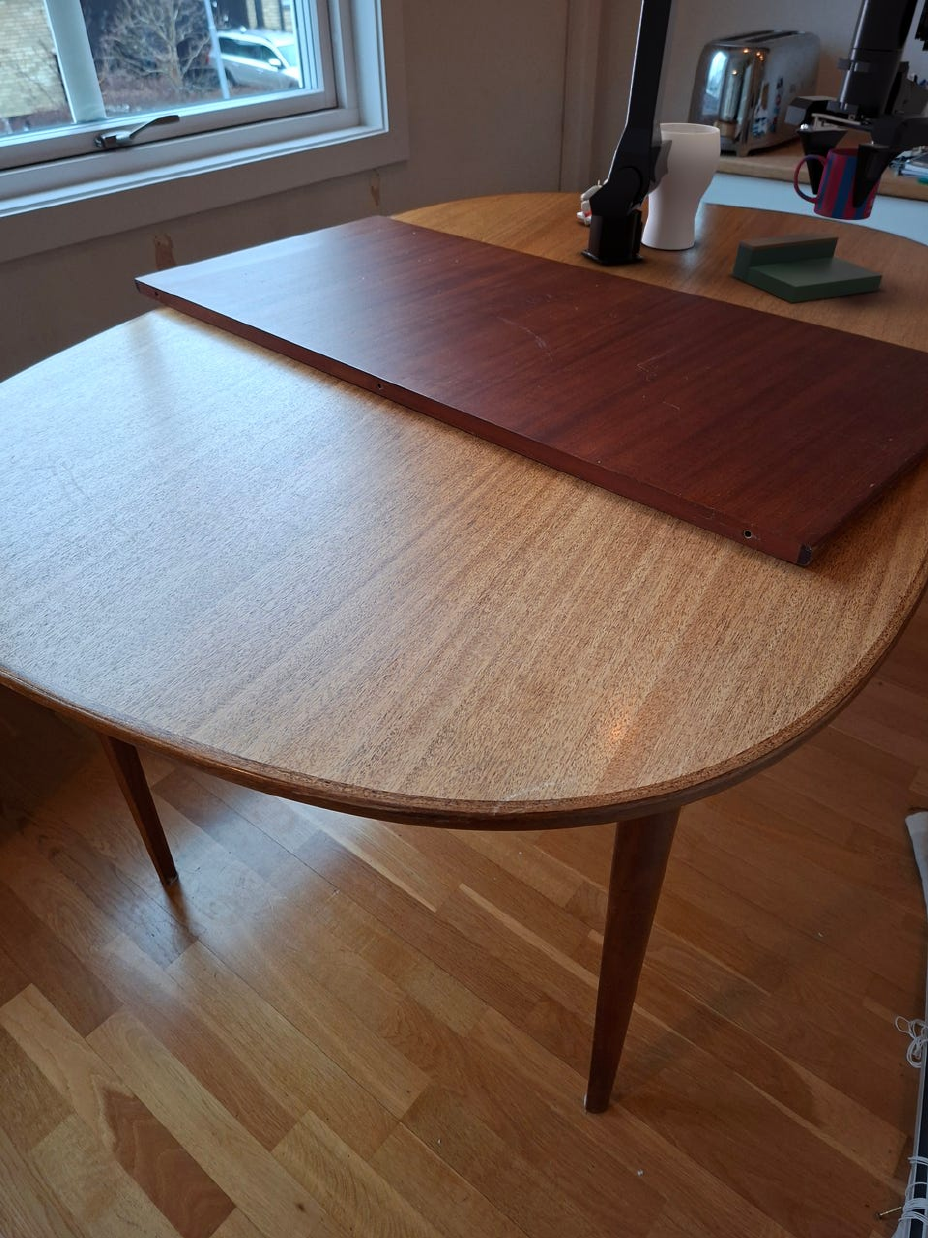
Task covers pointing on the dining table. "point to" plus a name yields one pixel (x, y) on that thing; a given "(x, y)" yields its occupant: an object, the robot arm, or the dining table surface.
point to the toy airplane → (585, 205)
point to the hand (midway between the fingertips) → (836, 200)
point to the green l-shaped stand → (801, 267)
